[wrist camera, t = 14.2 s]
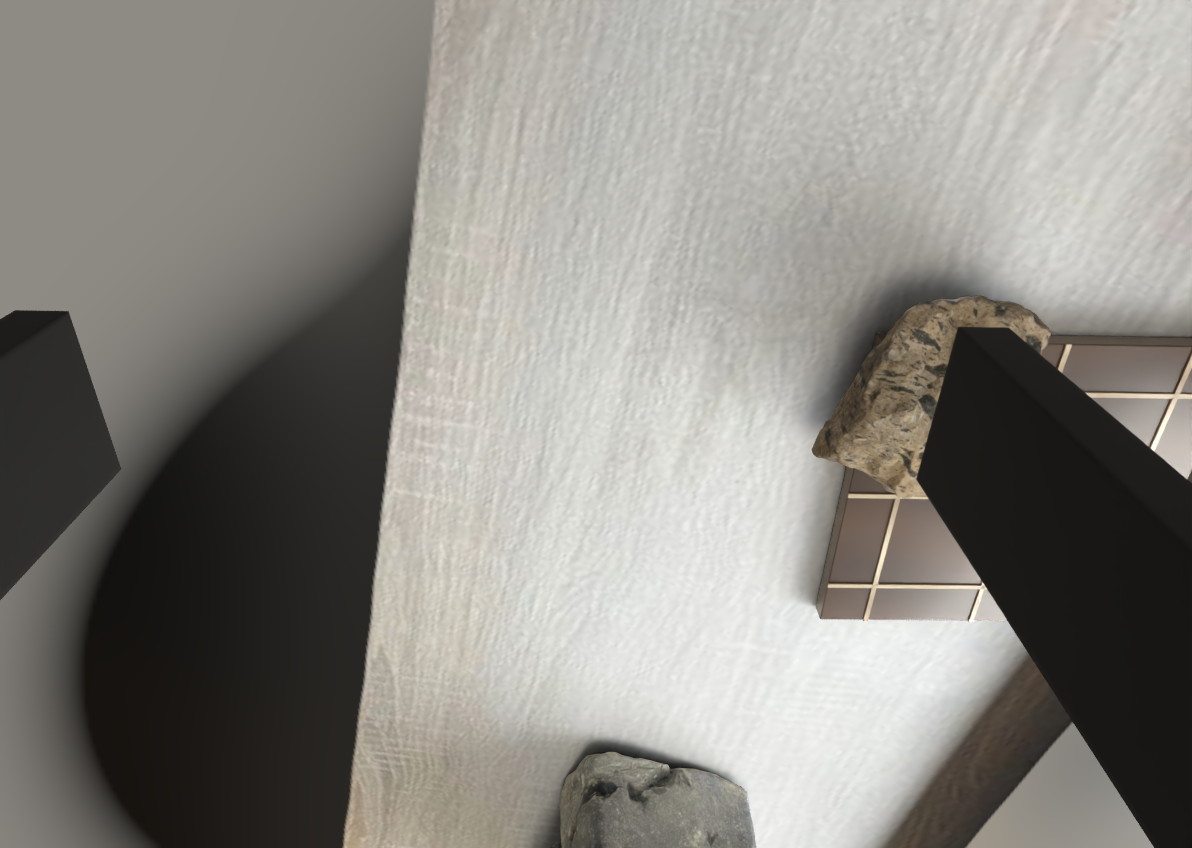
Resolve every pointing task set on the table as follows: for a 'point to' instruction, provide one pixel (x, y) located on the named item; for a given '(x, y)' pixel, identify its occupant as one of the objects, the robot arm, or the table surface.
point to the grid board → (920, 537)
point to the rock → (910, 388)
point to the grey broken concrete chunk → (651, 807)
